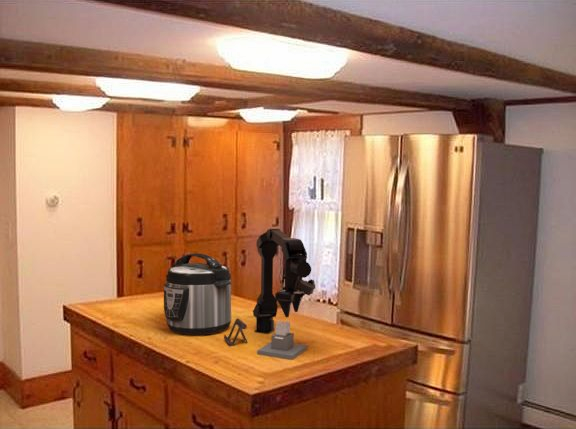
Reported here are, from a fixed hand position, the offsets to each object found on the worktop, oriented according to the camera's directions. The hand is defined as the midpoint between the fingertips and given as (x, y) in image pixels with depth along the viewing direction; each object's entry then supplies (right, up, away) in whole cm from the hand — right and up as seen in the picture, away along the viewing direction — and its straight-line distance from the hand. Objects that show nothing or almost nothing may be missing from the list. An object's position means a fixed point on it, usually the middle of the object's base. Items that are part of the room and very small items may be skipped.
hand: (291, 314), depth 219 cm
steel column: (-3, -12, -2) cm, 12 cm away
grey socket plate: (-3, -14, -1) cm, 14 cm away
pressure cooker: (-40, -11, +28) cm, 50 cm away
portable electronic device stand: (-21, -13, +10) cm, 27 cm away
